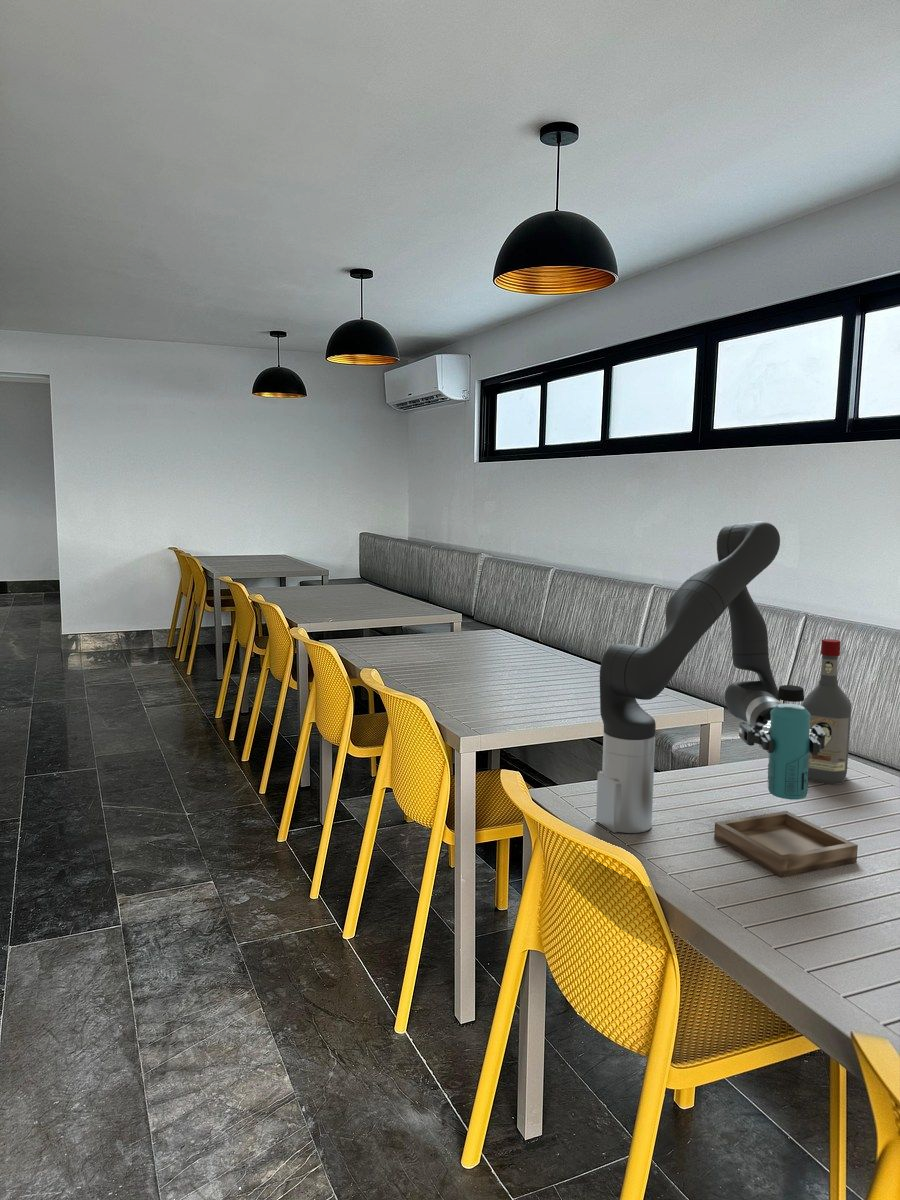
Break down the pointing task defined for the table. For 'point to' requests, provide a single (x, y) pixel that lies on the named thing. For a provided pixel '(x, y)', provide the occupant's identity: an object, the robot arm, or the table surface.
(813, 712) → the liquor
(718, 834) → the tray
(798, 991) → the table surface
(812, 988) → the table surface
